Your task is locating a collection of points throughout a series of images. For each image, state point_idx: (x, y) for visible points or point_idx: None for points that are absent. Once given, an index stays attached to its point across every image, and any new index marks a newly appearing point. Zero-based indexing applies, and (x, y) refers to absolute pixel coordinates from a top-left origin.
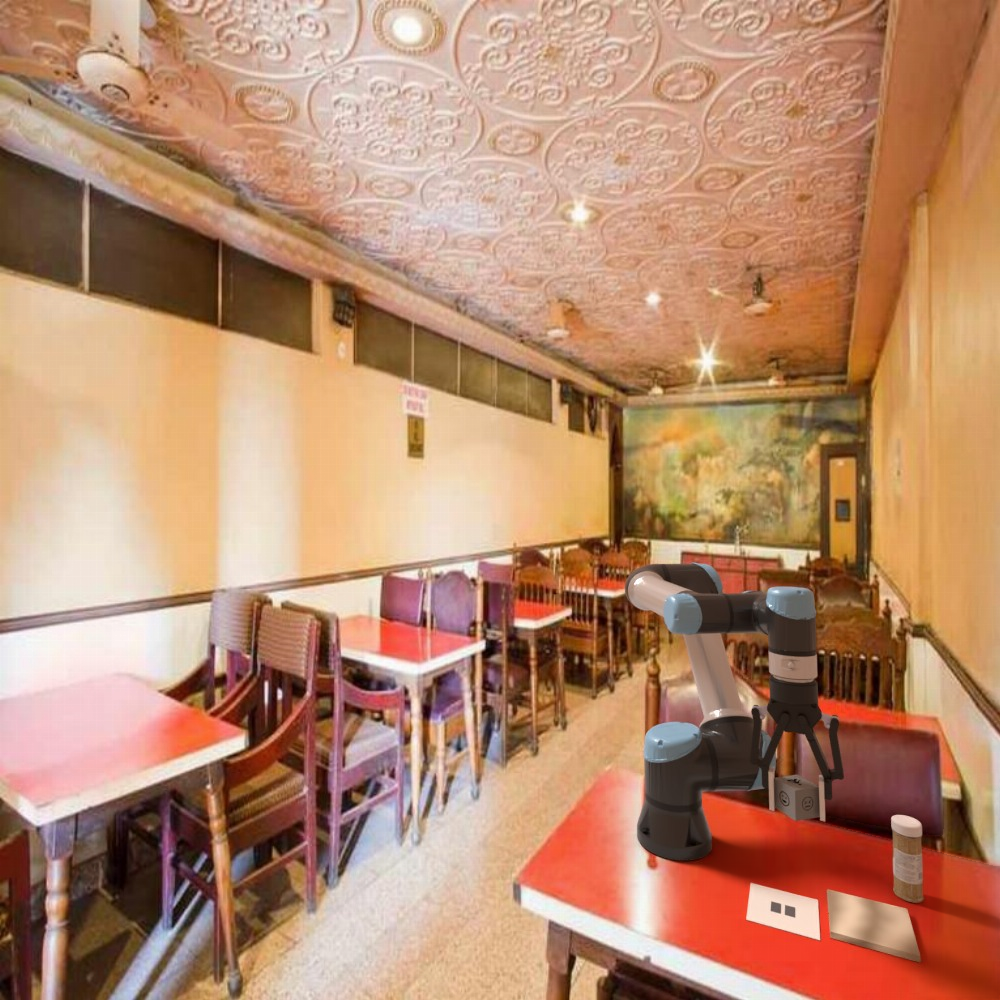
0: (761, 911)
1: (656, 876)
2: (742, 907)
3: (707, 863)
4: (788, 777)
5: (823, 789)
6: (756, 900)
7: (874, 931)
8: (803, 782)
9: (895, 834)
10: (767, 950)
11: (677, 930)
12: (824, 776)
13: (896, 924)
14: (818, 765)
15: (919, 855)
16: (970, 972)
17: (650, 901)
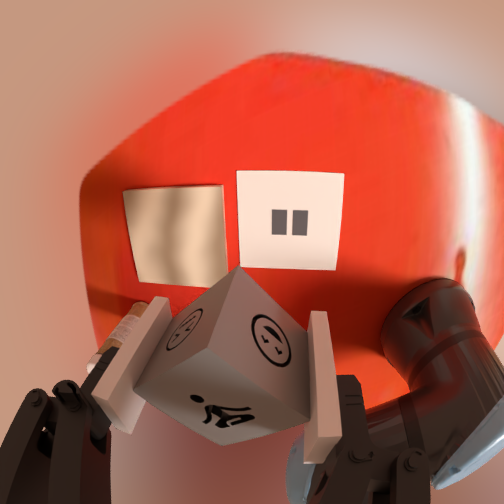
0: (321, 203)
1: (458, 232)
2: (349, 203)
3: (392, 292)
4: (249, 431)
5: (107, 370)
6: (328, 228)
7: (167, 215)
8: (189, 412)
9: None
10: (310, 113)
11: (430, 115)
12: (81, 411)
13: (145, 244)
14: (81, 456)
15: (106, 339)
16: (91, 200)
17: (464, 170)
